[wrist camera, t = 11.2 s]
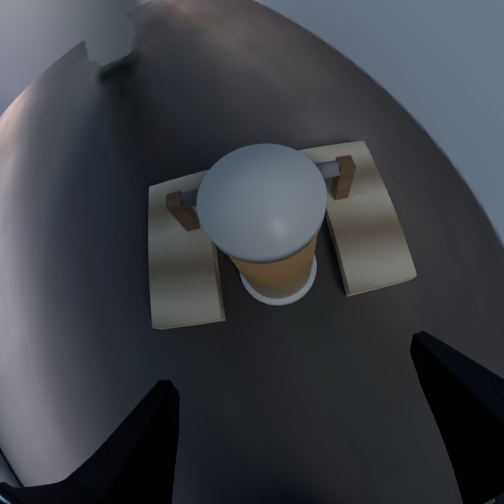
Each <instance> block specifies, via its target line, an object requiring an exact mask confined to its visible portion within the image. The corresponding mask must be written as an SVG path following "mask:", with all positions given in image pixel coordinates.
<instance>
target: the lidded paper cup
mask: <svg viewBox="0 0 504 504" xmlns="http://www.w3.org/2000/svg"><path fill="white" fill-rule="evenodd" d="M326 203H327V191H326V185H325V182H324V179H323V177H322V174H321V172H320V171H319V169H318V168H317V166H316V165H315V164H314V163H313V162H312V161H311V160H310V159H309V158H308V157H306V156H305V155H303V154H302V153H300V152H298V151H296V150H294V149H292V148H289V147H286V146H282V145H277V144H255V145H249V146H246V147H242V148H239V149H237V150H235V151H233V152H231V153H229V154H227V155H225V156H224V157H223V158H221V159H220V160H219V161H217V162H216V163H215V164H214V165H213V166H212V167H211V168H210V170H209V171H208V172H207V174H206V175H205V177H204V178H203V180H202V182H201V185H200V187H199V191H198V194H197V213H198V218H199V221H200V223H201V225H202V227H203V229H204V231H205V232H206V233H207V235H208V236H209V237H210V239H211V240H212V241H213V243H214V244H215V245H216V246H217V247H218V248H219V249H220V250H221V251H223V252H224V253H225V254H227V255H228V256H229V257H230V259H231V260H232V261H233V263H234V264H235V266H236V267H237V268H238V270H239V271H240V276H241V280H242V282H243V284H244V286H245V288H246V289H247V290H248V292H249V293H250V294H251V295H252V296H253V297H254V298H256V299H257V300H258V301H260V302H262V303H265V304H267V305H271V306H284V305H289V304H292V303H294V302H296V301H298V300H300V299H301V298H302V297H303V296H305V294H306V293H307V292H308V291H309V290H310V288H311V286H312V285H313V282H314V279H315V275H316V269H317V263H316V257H315V254H314V252H315V246H316V239H317V233H318V232H319V230H320V228H321V225H322V222H323V220H324V214H325V209H326Z"/></svg>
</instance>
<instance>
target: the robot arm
mask: <svg viewBox="0 0 504 504" xmlns="http://www.w3.org/2000/svg"><path fill="white" fill-rule="evenodd" d="M410 353H411V357H412V360H413V363H414V366H415V369H416V372H417V375H418V378H419V381H420V384H421V387H422V389H423V392H424V394H425V397H426V399H427V401H428V403H429V406H430V408H431V411H432V413H433V415H434V418H435V420H436V423H437V425H438V428H439V430H440V433H441V436H442V438H443V441H444V444H445V446H446V449H447V452H448V455H449V458H450V461H451V464H452V467H453V470H454V473H455V477H456V480H457V483H458V486H459V490H460V493H461V497H462V501H463V504H484V503H486V502H488V501H490V500H491V499H493V498H495V500H496V502H495V503H493V504H504V379H503V378H501V377H500V376H498V375H497V374H495V373H492V372H491V371H490V370H488V369H487V368H485V367H483V366H482V365H480V364H479V363H477V362H475V361H474V360H472V359H470V358H469V357H467V356H465V355H464V354H462V353H460V352H459V351H457V350H456V349H454V348H452V347H451V346H449V345H447V344H446V343H444V342H442V341H441V340H439V339H437V338H436V337H434V336H432V335H430V334H429V333H427V332H425V331H420V332H417V333H415V334H414V335H413V338H412V343H411V347H410ZM179 400H180V397H179V393H178V391H177V390H176V388H175V387H174V385H173V384H172V382H171V381H170V380H159V381H158V382H157V383H156V384H155V386H154V387H153V388H152V389H151V390H150V391H149V392H148V394H147V395H146V396H145V397H144V398H143V399H142V400H141V402H140V403H139V404H138V405H137V406H136V407H135V408H134V409H133V411H132V412H131V413H130V414H129V415H128V416H127V417H126V419H125V420H124V421H123V422H122V423H121V424H120V425H119V426H118V428H117V429H116V430H115V431H114V432H113V433H112V434H111V435H110V436H109V438H108V439H107V440H106V441H105V442H104V443H103V444H102V445H101V446H100V448H99V449H98V450H97V451H96V452H95V453H94V454H93V455H92V456H91V457H90V458H89V459H88V460H87V461H85V462H84V463H83V464H82V465H81V466H80V467H79V468H78V469H76V470H75V471H74V472H73V473H72V474H71V475H70V476H68V477H67V478H66V479H64V480H63V481H60V482H58V483H53V484H47V485H40V486H31V487H20V488H18V487H12V486H11V485H9V484H8V483H6V482H0V495H1V496H2V497H3V498H5V499H6V500H7V501H8V502H10V503H11V504H172V493H173V482H174V472H175V463H176V454H177V445H178V437H179ZM0 504H7V503H5V502H3V501H2V500H0Z"/></svg>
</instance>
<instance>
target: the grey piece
mask: <svg viewBox="0 0 504 504" xmlns="http://www.w3.org/2000/svg"><path fill="white" fill-rule="evenodd" d="M297 151H298V152H300V153H302V154H303V155H305V156H306V157H308V158H309V159H310V160H311V161H312V162H313V163H314V164H315V165H316V166H317V168H318V169H319V171H320V172H321V174H322V177H323V179H324V182H325V185H326V191H327V203H326V209H325V217H326V220H327V224H328V227H329V230H330V234H331V238H332V241H333V245H334V248H335V252H336V256H337V260H338V264H339V267H340V271H341V275H342V279H343V284H344V288H345V292H346V296H351V295H356V294H360V293H364V292H368V291H372V290H376V289H380V288H383V287H387V286H391V285H395V284H398V283H402V282H406V281H409V280H411V279H413V278H414V277H416V276H417V275H416V271H415V268H414V264H413V261H412V258H411V255H410V252H409V248H408V245H407V242H406V239H405V237H404V234H403V231H402V228H401V225H400V223H399V220H398V217H397V215H396V212H395V209H394V207H393V204H392V202H391V199H390V197H389V194H388V192H387V190H386V187H385V185H384V183H383V180H382V178H381V176H380V174H379V171H378V169H377V167H376V165H375V163H374V161H373V159H372V156H371V154H370V152H369V150H368V148H367V146H366V144H365V142H364V141H358V142H350V143H342V144H335V145H328V146H321V147H315V148H309V149H303V150H297ZM208 171H209V170H206V171H202V172H198V173H194V174H191V175H187V176H184V177H180V178H177V179H173V180H170V181H166V182H163V183H160V184H156V185H153V186H150V187H149V212H148V254H149V283H150V301H151V315H152V327H153V328H155V329H160V330H161V329H170V328H178V327H185V326H192V325H200V324H206V323H213V322H220V321H226V318H225V311H224V304H223V297H222V289H221V282H220V274H219V266H218V258H217V249H216V245H215V244H214V243H213V241H212V240H211V239H210V237H209V236H208V235H207V233H206V232H205V231H204V229H203V227H202V225H201V223H200V221H199V218H198V213H197V194H198V191H199V187H200V185H201V182H202V180H203V178H204V177H205V175H206V174H207V172H208Z"/></svg>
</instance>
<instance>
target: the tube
mask: <svg viewBox="0 0 504 504" xmlns="http://www.w3.org/2000/svg"><path fill="white" fill-rule="evenodd" d="M0 482H6V483H8V484H9V485H11V486H12V487H18V488H20V487H21V485H20V484H19V482H18V481H17V479H16V478H15V476H14V474H13V473H12V471H11V470H10V468H9V466H8V465H7V463H6V461H5V459H4V458H3V456H2V454H1V452H0ZM4 499H5V498H4ZM5 500H6V499H5ZM6 502H7V503H8V504H11V503H10V502H8V501H7V500H6Z"/></svg>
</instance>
